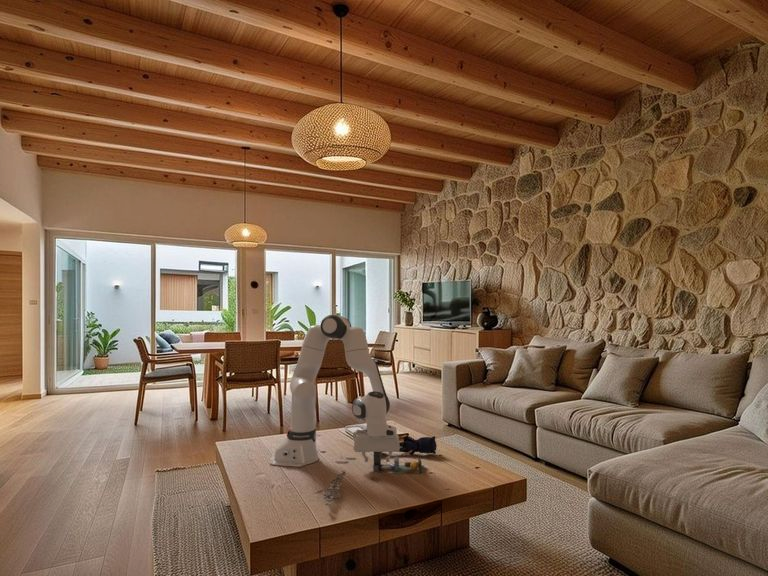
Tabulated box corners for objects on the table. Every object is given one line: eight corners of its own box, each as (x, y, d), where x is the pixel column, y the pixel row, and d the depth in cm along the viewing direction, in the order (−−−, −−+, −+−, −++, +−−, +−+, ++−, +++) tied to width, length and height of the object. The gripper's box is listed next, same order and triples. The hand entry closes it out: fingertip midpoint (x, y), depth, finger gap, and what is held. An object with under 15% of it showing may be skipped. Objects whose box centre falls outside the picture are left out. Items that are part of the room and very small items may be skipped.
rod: (372, 471, 197) (372, 452, 197) (373, 467, 202) (372, 449, 202) (399, 471, 197) (398, 452, 197) (399, 467, 202) (398, 448, 202)
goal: (405, 473, 194) (405, 461, 195) (404, 465, 203) (404, 454, 204) (421, 473, 194) (421, 461, 194) (420, 465, 203) (420, 454, 203)
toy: (375, 458, 221) (437, 457, 218) (372, 455, 213) (437, 454, 210) (375, 437, 226) (436, 436, 223) (373, 433, 218) (436, 432, 215)
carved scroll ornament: (318, 516, 158) (317, 504, 158) (337, 480, 188) (336, 470, 188) (331, 516, 158) (331, 504, 158) (348, 480, 188) (347, 470, 188)
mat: (392, 474, 194) (392, 473, 194) (392, 465, 204) (392, 465, 204) (425, 474, 194) (425, 473, 194) (423, 465, 204) (423, 465, 204)
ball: (419, 467, 197) (413, 472, 197) (419, 464, 201) (413, 469, 201) (414, 461, 197) (408, 466, 197) (414, 458, 201) (408, 463, 201)
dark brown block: (373, 472, 196) (373, 465, 196) (374, 467, 202) (374, 460, 203) (378, 472, 196) (378, 465, 196) (379, 467, 202) (379, 460, 202)
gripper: (352, 431, 197) (352, 464, 197) (399, 431, 196) (400, 464, 196) (353, 427, 203) (354, 459, 203) (399, 427, 203) (400, 458, 202)
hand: (377, 461), depth 199 cm, fingers open, 8 cm apart
